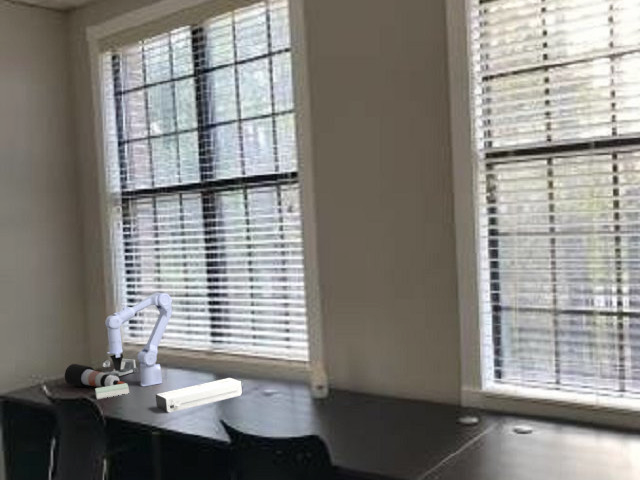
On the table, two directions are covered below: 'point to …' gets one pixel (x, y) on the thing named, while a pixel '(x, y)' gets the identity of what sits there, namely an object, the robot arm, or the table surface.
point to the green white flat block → (112, 393)
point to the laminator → (198, 394)
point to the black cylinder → (89, 377)
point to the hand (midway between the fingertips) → (117, 370)
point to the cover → (111, 388)
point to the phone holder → (122, 367)
